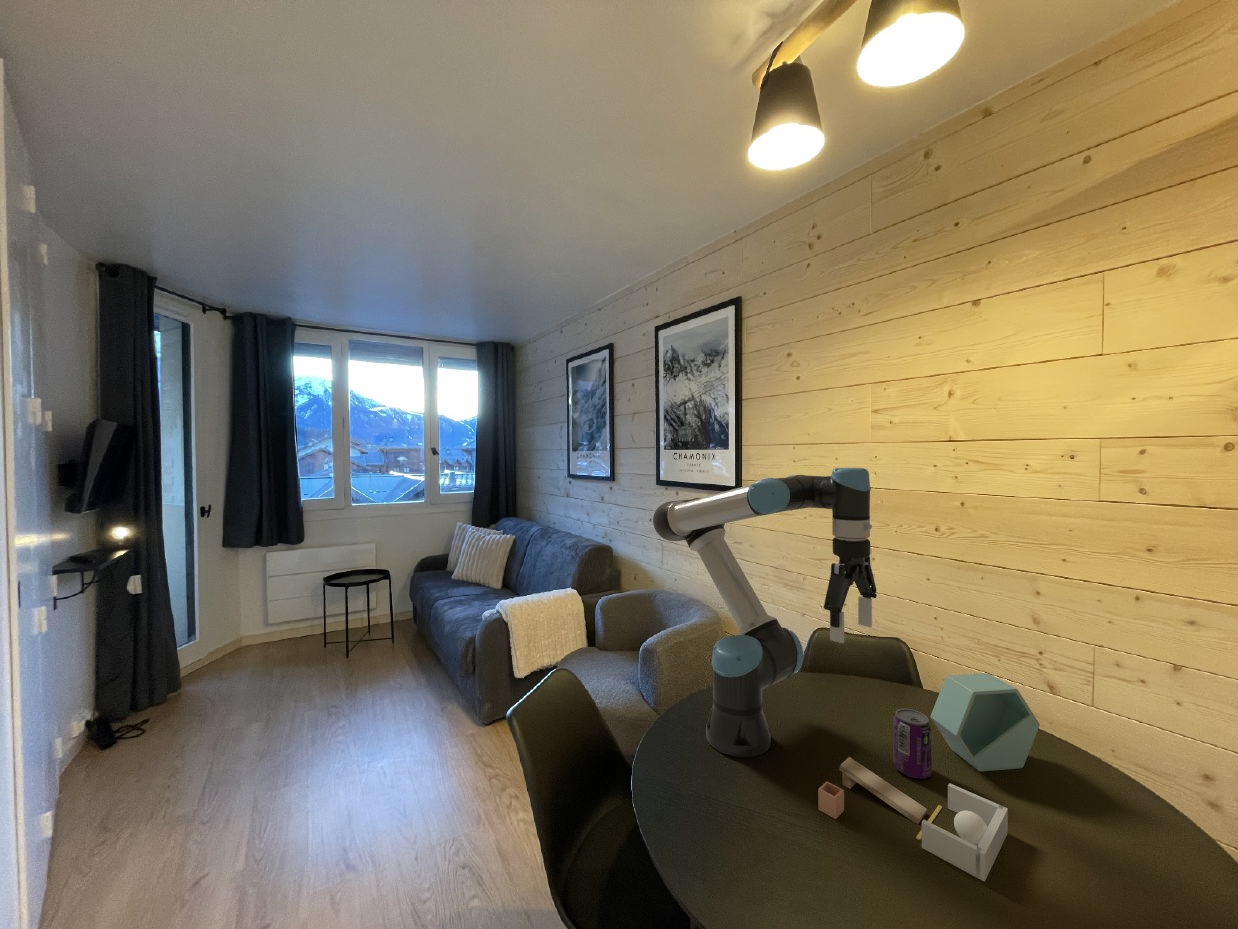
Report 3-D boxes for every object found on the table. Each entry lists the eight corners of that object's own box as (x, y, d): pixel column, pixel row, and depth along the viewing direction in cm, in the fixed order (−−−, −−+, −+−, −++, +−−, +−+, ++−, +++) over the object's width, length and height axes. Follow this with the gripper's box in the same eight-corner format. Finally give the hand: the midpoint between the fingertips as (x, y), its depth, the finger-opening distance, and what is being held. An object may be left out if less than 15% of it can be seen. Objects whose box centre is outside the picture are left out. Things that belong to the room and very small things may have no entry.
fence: (921, 847, 85) (921, 822, 85) (949, 806, 94) (949, 783, 94) (984, 882, 78) (984, 854, 78) (1007, 833, 88) (1007, 808, 87)
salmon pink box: (818, 809, 94) (818, 789, 94) (827, 801, 96) (826, 781, 96) (835, 819, 91) (835, 798, 91) (844, 810, 94) (844, 790, 94)
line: (915, 838, 87) (915, 837, 87) (938, 805, 94) (938, 805, 94) (919, 840, 86) (919, 839, 86) (942, 807, 94) (942, 806, 94)
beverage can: (937, 783, 101) (937, 726, 100) (900, 779, 102) (899, 723, 102) (923, 762, 108) (923, 708, 107) (888, 758, 109) (888, 706, 109)
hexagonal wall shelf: (992, 791, 104) (943, 716, 103) (963, 768, 112) (917, 697, 111) (1053, 744, 105) (1005, 668, 104) (1020, 724, 113) (975, 653, 112)
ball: (945, 818, 86) (958, 850, 85) (976, 821, 83) (991, 854, 82) (953, 804, 90) (965, 834, 88) (983, 806, 86) (997, 838, 85)
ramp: (839, 784, 101) (839, 764, 101) (848, 776, 104) (848, 756, 104) (919, 825, 90) (919, 803, 90) (927, 815, 92) (926, 793, 92)
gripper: (841, 548, 96) (842, 654, 97) (892, 532, 112) (892, 623, 113) (805, 543, 102) (806, 643, 103) (859, 529, 118) (859, 615, 119)
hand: (851, 633), depth 108 cm, fingers open, 13 cm apart
